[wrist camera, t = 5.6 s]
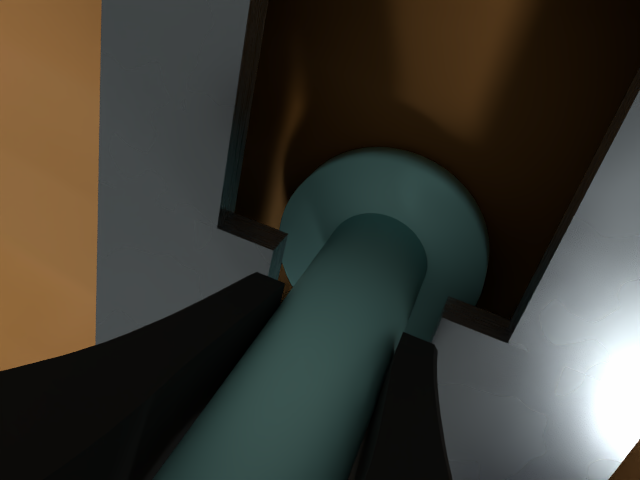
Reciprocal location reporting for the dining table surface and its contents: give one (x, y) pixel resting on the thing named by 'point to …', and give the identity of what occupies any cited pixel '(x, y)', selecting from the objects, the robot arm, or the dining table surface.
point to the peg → (340, 317)
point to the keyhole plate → (269, 243)
